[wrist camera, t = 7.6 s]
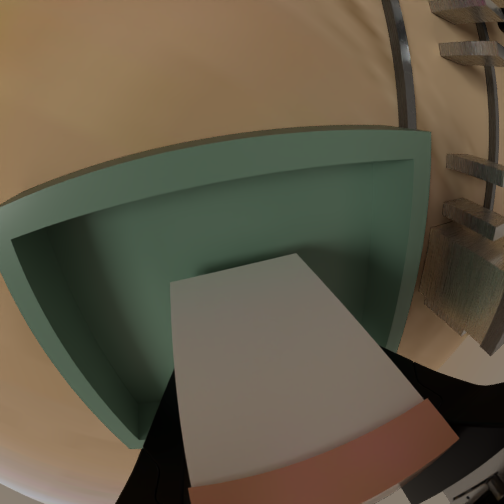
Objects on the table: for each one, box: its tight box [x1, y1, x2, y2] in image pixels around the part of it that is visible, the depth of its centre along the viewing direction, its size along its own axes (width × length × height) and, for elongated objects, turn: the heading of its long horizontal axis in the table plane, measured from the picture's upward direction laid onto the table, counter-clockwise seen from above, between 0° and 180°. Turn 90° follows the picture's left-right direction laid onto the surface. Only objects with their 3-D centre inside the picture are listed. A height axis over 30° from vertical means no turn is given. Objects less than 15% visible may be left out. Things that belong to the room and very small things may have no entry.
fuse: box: [170, 253, 459, 504], centre depth 7 cm, size 5×5×8 cm
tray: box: [0, 125, 431, 449], centre depth 11 cm, size 15×13×3 cm
